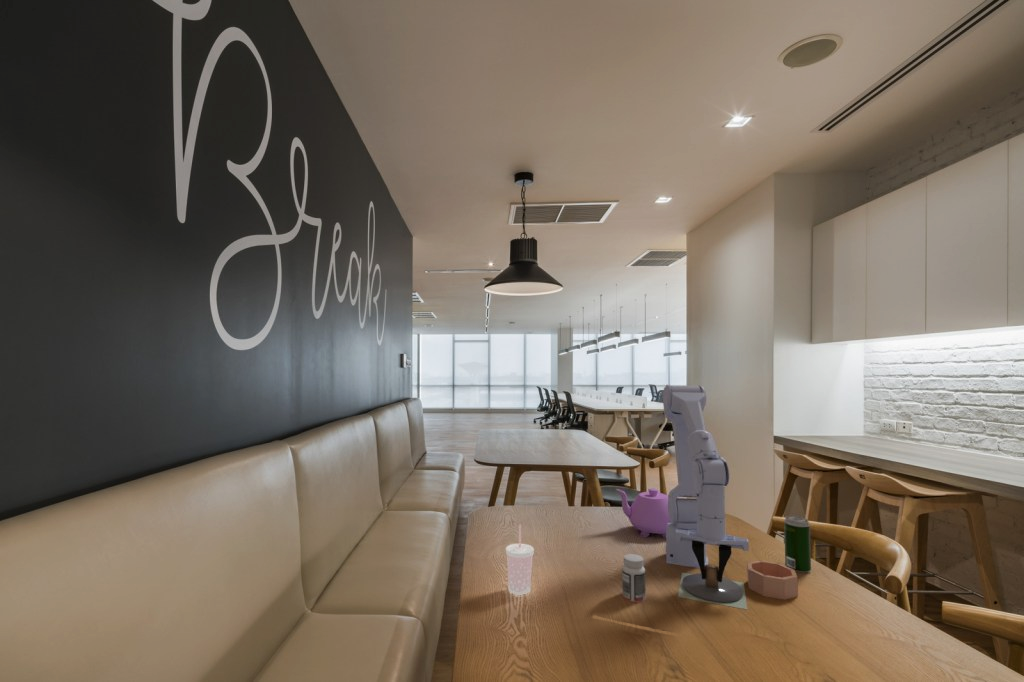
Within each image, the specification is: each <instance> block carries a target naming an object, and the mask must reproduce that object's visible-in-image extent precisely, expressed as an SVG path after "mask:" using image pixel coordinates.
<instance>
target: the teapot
mask: <svg viewBox="0 0 1024 682" xmlns="http://www.w3.org/2000/svg"><path fill="white" fill-rule="evenodd" d="M615 490H616V491H618V493H619V494H620V497H621V507H622V511H623V514H624V515H625V516H626V517H628V520H629V522H630V524H631V525H632V526H633V528H635V529H637V530H638V531H640V534H639V535H640V537H645V538H646V537H649V536H650V533H651V534H660V535H661V537H662V536H663V537H662V538H665V537H666V529H667V523H672V522H671V521H670V519H669V515H668V495H667V494H664V493H661V492H659V489H657V488H651V487H650V488H648V491H643V492H640V493H638V494H637V496H636V497H635V499H634V500H633V502H632V503H631V506H630V505H629V504H628V495H627V493H626V492H625V491H624V490H621V489H618V488H616V489H615Z"/></svg>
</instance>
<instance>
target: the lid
mask: <svg viewBox="0 0 1024 682" xmlns="http://www.w3.org/2000/svg"><path fill="white" fill-rule="evenodd" d="M718 568H719V566H718V565H715V564H712V563H711V564H710V563H708V564H706V565H705V579H702V575H701V573H690V574H691V575H688V576H686V577H684V578H683V581H682V582H683V588H684V589H685V591H687V592H688V593H689V594H691V595H693V596H695V597H697V598H700V599H703V600H706V601H711V602H717V603H732V602H736V601H739V600H740V599H741V598H742V597H743V590H742V588H741V587H740V586H739V585H738V584H737V583H735V582H733V581H734V580H731V579H729V578H726V577H723V576H722V582H718Z"/></svg>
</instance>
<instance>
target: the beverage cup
mask: <svg viewBox="0 0 1024 682" xmlns="http://www.w3.org/2000/svg"><path fill="white" fill-rule="evenodd" d="M534 551H535V548H534V546H532V545H530V544H528V543H522V524H518V543H511V544H509V545H507V546H506V547H505V553H506V556H507V557H506V561H507V583H508V592H509V591H510V592H511V593H513V594H516V595H522V594H527V593H529V592H530V593H531V588H532V587H531V585H532V584H531V582H532V572H533V571H532V569H533V557H534V556H533V555H534V553H535V552H534ZM530 593H529V594H530Z"/></svg>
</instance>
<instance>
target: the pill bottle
mask: <svg viewBox="0 0 1024 682" xmlns="http://www.w3.org/2000/svg"><path fill="white" fill-rule="evenodd" d="M621 567H622V570H621V580H622V584H621V585H622V587H621V590H622V591H621V592H622V593H621V594H622V597H623V598H624V599H625V600H626V601H627V600H628V601H630V602H636V603H637V602H638V603H639V602H643V601H645V600H646V598H647V597H646V568H645V567H644V558H643V556H641V555H639V554H636V553H635V554H634V553H628V554H624V556H623V565H622V566H621Z"/></svg>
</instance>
